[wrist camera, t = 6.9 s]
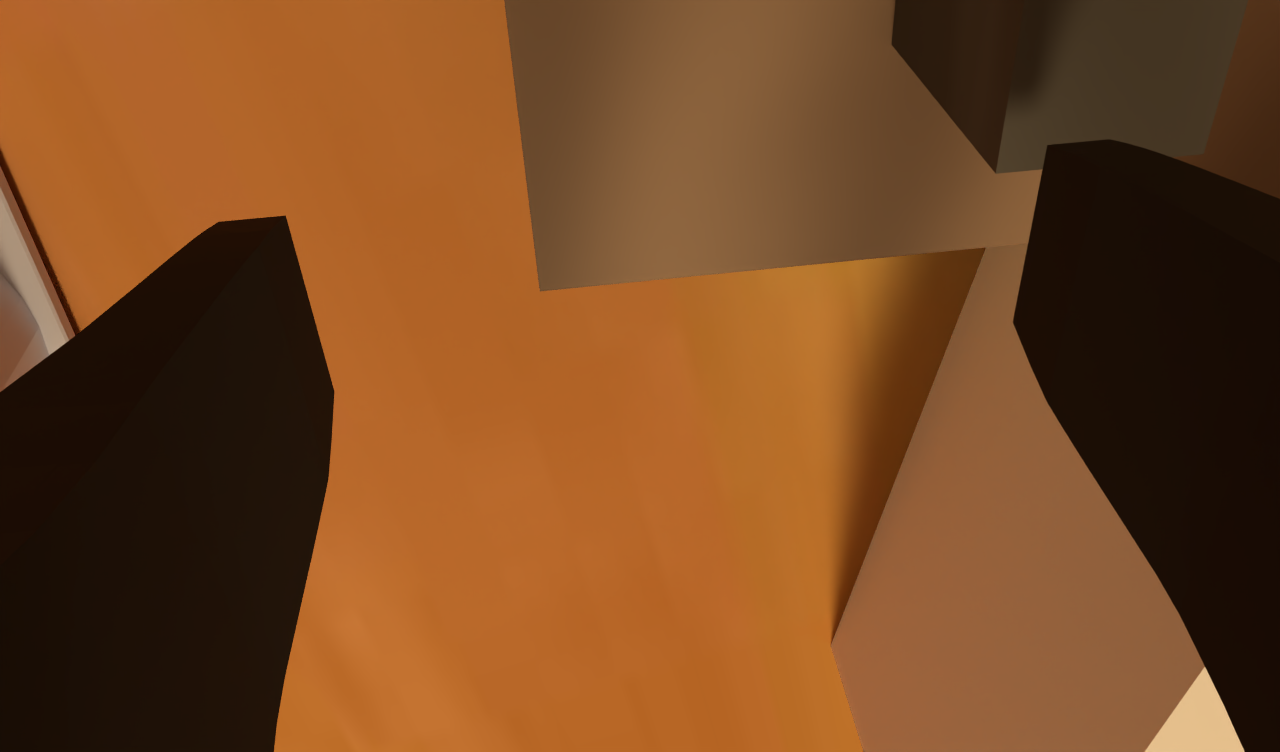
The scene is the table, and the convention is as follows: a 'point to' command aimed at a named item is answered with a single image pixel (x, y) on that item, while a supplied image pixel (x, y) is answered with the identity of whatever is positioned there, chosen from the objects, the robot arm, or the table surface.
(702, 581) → the table surface
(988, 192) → the lid
